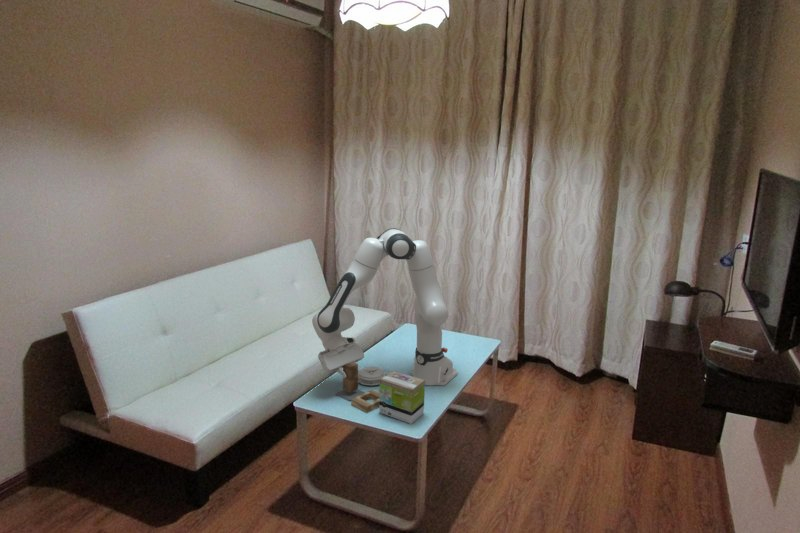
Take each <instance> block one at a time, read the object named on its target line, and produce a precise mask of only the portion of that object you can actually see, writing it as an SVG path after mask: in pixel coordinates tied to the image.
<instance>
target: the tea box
mask: <svg viewBox="0 0 800 533" xmlns="http://www.w3.org/2000/svg"><path fill="white" fill-rule="evenodd" d="M425 388H426V385H425V380H423V379H419V378H416V377H413V375H409V374H405V373H402V372H399V371H395V370H392V371H391V372H389V373H387V374H386V375H385V377H383V378H382V379H380V384H379V392H380V396H379V407H378V408H379V410H378V412H379V414H381V415H385V416H388V417H391V418H395V419H397V420H399V421H402V422H405V423H408V424H410V425H411V424H413V423H414V422H415V421H417V419H418V418H420V417H421V416H422V415H423V414H424V413H425V412H424V410H425V392H426V390H425Z"/></svg>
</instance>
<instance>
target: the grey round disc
mask: <svg viewBox="0 0 800 533" xmlns="http://www.w3.org/2000/svg"><path fill="white" fill-rule="evenodd" d="M358 371H359V372H358V384H361V385H364V386H378V385H379V386H380V379H382V378H383V377H385V376H386V375H387V374H386V371H385V370H384V369H382V368H380V367H376V366H367V367H366V366H365V367H363V368H361V369H358Z"/></svg>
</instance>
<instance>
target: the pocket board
mask: <svg viewBox="0 0 800 533" xmlns="http://www.w3.org/2000/svg"><path fill="white" fill-rule="evenodd" d="M379 396H380V391H377V390H375V389H371V390H368V391H366V392H365V393H364V394H362V395H360V396H357V397H355V398H353V399H351V401H350V402H351V406H353V407H355V408H357V409H359V410H360V411H363V412H364V413H367V414H368V413H369V412H372V411H373V410H376V409H378V408H379ZM368 400H373V401H371V402H369V401H368Z"/></svg>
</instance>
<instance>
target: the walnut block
mask: <svg viewBox="0 0 800 533" xmlns="http://www.w3.org/2000/svg"><path fill="white" fill-rule="evenodd" d="M356 363H357V362H356ZM356 363H354V362H350V363H347V364H345V365H344V366H343V368H342V370H343V371H344V372H347V374H348V377H346V378H343V377H342V390H343V389H344V390H347V391H349V392H352V391H354V390H356V389H359V382H358V371H359V364H358V363H357V364H356Z"/></svg>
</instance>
